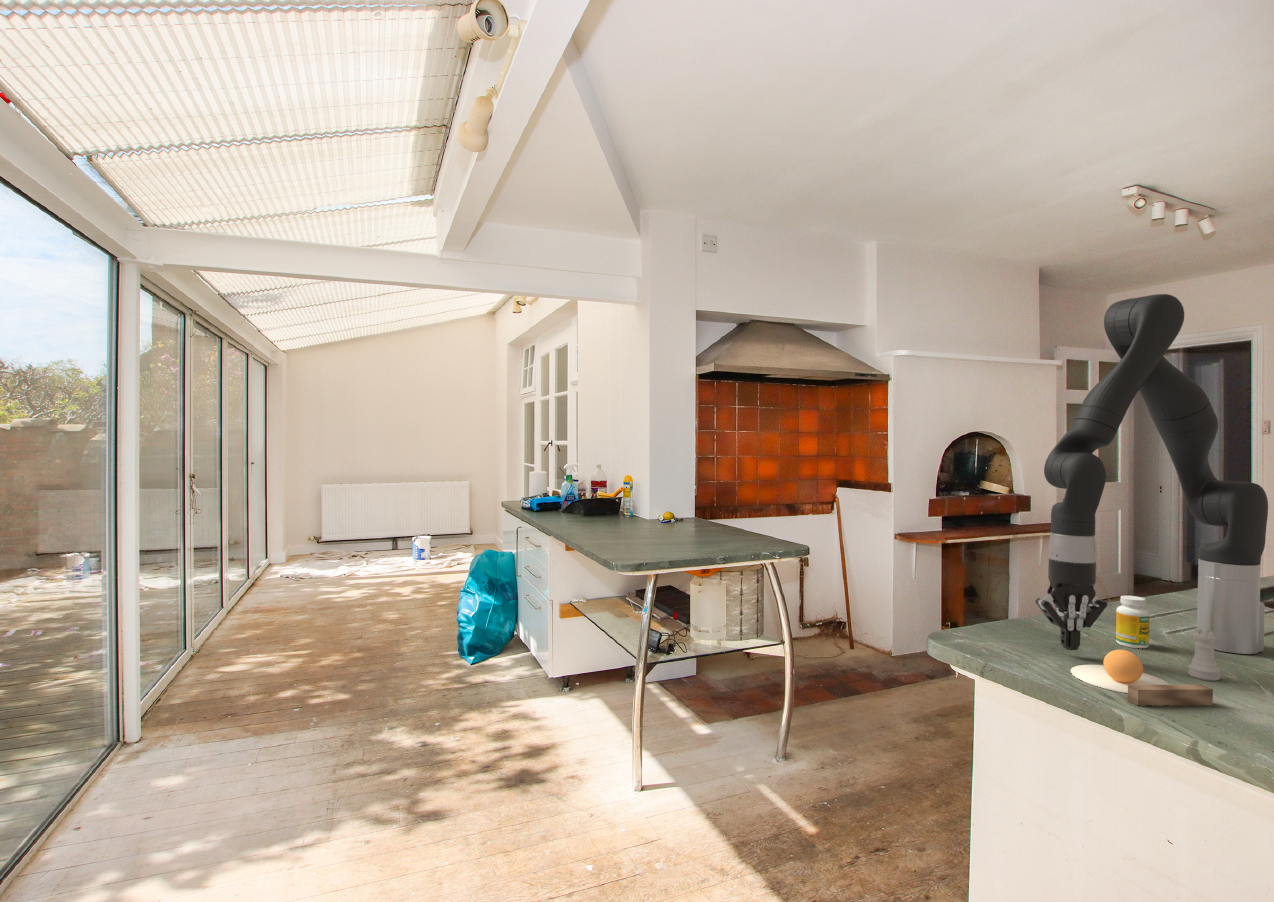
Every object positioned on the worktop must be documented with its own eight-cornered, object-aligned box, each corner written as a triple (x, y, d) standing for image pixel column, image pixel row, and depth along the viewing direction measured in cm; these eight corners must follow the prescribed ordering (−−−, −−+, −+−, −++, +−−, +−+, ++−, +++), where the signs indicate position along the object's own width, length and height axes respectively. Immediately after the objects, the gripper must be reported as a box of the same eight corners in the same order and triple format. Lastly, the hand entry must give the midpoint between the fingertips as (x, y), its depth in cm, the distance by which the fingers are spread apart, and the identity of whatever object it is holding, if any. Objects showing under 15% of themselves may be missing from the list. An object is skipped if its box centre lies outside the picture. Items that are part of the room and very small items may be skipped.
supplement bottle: (1122, 639, 136) (1123, 593, 136) (1153, 646, 131) (1154, 598, 131) (1110, 643, 133) (1111, 596, 133) (1142, 650, 128) (1143, 602, 128)
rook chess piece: (1213, 674, 115) (1214, 629, 115) (1226, 683, 111) (1227, 636, 111) (1182, 671, 117) (1183, 626, 117) (1194, 679, 113) (1195, 633, 112)
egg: (1139, 688, 111) (1117, 661, 115) (1157, 669, 108) (1134, 642, 112) (1111, 690, 110) (1090, 662, 114) (1129, 670, 107) (1106, 643, 111)
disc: (1126, 665, 119) (1126, 664, 119) (1195, 695, 106) (1195, 693, 106) (1052, 665, 119) (1052, 664, 119) (1111, 695, 105) (1111, 694, 105)
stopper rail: (1200, 700, 103) (1201, 684, 103) (1212, 705, 101) (1212, 689, 101) (1127, 700, 103) (1127, 684, 103) (1137, 705, 101) (1138, 689, 101)
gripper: (1051, 561, 120) (1049, 655, 120) (1121, 561, 120) (1119, 655, 121) (1025, 554, 127) (1023, 643, 128) (1091, 554, 128) (1089, 642, 128)
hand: (1070, 648), depth 124 cm, fingers closed
